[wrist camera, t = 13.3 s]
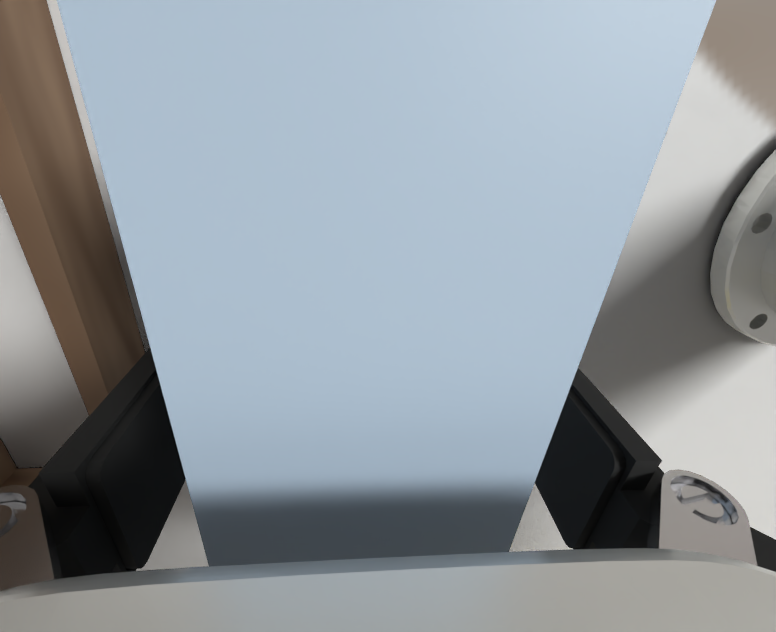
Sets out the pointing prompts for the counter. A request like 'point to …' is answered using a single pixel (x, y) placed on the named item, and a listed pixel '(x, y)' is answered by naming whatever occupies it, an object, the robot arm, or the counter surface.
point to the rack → (59, 212)
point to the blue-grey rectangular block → (372, 244)
